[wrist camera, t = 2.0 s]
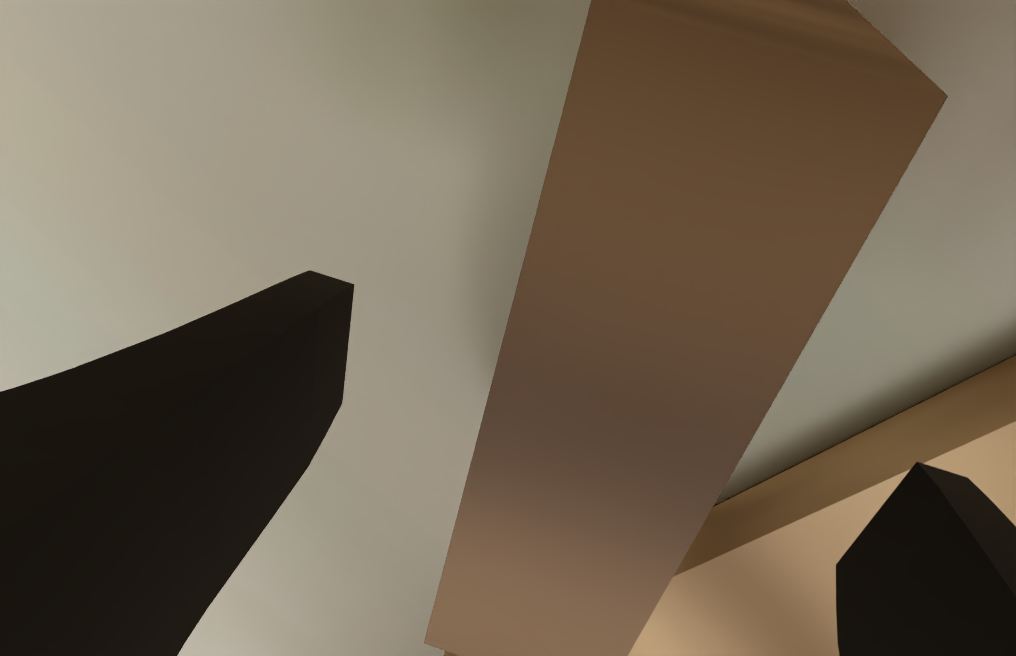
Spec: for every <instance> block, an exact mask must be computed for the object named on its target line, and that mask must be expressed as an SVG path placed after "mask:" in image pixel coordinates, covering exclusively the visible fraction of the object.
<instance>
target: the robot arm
mask: <svg viewBox="0 0 1016 656" xmlns="http://www.w3.org/2000/svg"><path fill="white" fill-rule="evenodd" d="M353 292H354V284H351V283H348V282H345V281H342V280H339V279H336V278H332V277H329V276H326V275H323V274H320V273H316V272H313V271H310V270H309V271H307V272H304V273H302V274H299V275H297V276H294V277H292V278H289V279H287V280H285V281H283V282H280V283H278V284H276V285H273V286H271V287H269V288H267V289H264V290H262V291H260V292H258V293H256V294H253V295H251V296H249V297H247V298H244V299H242V300H240V301H238V302H235V303H233V304H231V305H229V306H226V307H224V308H222V309H220V310H217V311H215V312H213V313H210V314H208V315H206V316H203V317H201V318H199V319H196V320H194V321H192V322H189V323H187V324H185V325H182V326H180V327H178V328H176V329H173V330H171V331H168V332H166V333H164V334H161V335H159V336H156V337H153V338H151V339H148V340H146V341H143V342H140V343H138V344H135V345H132V346H130V347H127V348H125V349H122V350H119V351H117V352H114V353H112V354H109V355H106V356H104V357H101V358H98V359H96V360H93V361H91V362H88V363H85V364H83V365H80V366H77V367H75V368H72V369H69V370H66V371H63V372H61V373H58V374H55V375H52V376H49V377H46V378H43V379H40V380H37V381H34V382H31V383H28V384H25V385H21V386H18V387H15V388H12V389H9V390H5V391H2V392H0V656H177V655H178V653H179V652H180V650H181V648H182V647H183V645H184V643H185V642H186V640H187V639H188V637H189V636H190V634H191V633H192V631H193V629H194V628H195V626H196V625H197V623H198V622H199V620H200V619H201V617H202V616H203V614H204V613H205V611H206V610H207V608H208V607H209V605H210V604H211V603H212V601H213V600H214V598H215V597H216V596H217V594H218V593H219V591H220V590H221V589H222V587H223V586H224V584H225V583H226V582H227V580H228V579H229V577H230V576H231V575H232V573H233V572H234V570H235V569H236V568H237V566H238V565H239V563H240V562H241V561H242V559H243V558H244V556H245V555H246V554H247V552H248V551H249V549H250V548H251V547H252V545H253V544H254V542H255V541H256V540H257V538H258V537H259V536H260V534H261V533H262V531H263V530H264V529H265V527H266V526H267V524H268V523H269V522H270V520H271V519H272V517H273V516H274V515H275V513H276V512H277V510H278V509H279V507H280V506H281V505H282V503H283V502H284V500H285V499H286V498H287V496H288V495H289V493H290V492H291V490H292V489H293V488H294V486H295V485H296V483H297V482H298V481H299V479H300V478H301V476H302V475H303V473H304V472H305V470H306V469H307V468H308V466H309V464H310V463H311V461H312V459H313V457H314V455H315V453H316V452H317V450H318V448H319V446H320V444H321V443H322V441H323V439H324V437H325V435H326V433H327V431H328V429H329V427H330V426H331V424H332V422H333V420H334V418H335V416H336V414H337V412H338V410H339V408H340V406H341V404H342V400H343V390H344V381H345V371H346V361H347V351H348V341H349V331H350V321H351V311H352V301H353ZM836 617H837V640H838V649H839V656H1016V526H1015V525H1014V524H1013V523H1012V522H1011V521H1010V520H1009V519H1008V518H1007V516H1006V515H1005V514H1004V513H1003V512H1002V511H1001V510H1000V509H999V508H998V507H997V506H996V505H995V504H994V503H993V502H992V501H991V500H990V499H989V498H988V497H987V496H986V495H985V494H984V493H983V492H982V491H981V490H980V489H979V488H978V487H977V486H976V485H975V484H974V483H973V482H972V481H971V480H970V479H969V478H968V477H964V476H961V475H958V474H955V473H952V472H949V471H945V470H942V469H939V468H936V467H933V466H930V465H926V464H923V463H920V462H916V463H915V464H914V466H913V467H912V468H911V469H910V471H909V472H908V473H907V475H906V476H905V477H904V478H903V480H902V481H901V482H900V484H899V485H898V486H897V487H896V489H895V490H894V491H893V492H892V494H891V495H890V496H889V498H888V499H887V500H886V501H885V503H884V504H883V505H882V506H881V508H880V509H879V510H878V512H877V513H876V514H875V515H874V517H873V518H872V519H871V520H870V522H869V523H868V524H867V526H866V527H865V528H864V529H863V531H862V532H861V533H860V535H859V536H858V537H857V538H856V540H855V541H854V542H853V543H852V545H851V546H850V547H849V549H848V550H847V551H846V552H845V554H844V555H843V556H842V557H841V559H840V560H839V561H838V563H837V564H836Z"/></svg>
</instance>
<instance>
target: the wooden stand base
mask: <svg viewBox="0 0 1016 656" xmlns="http://www.w3.org/2000/svg"><path fill="white" fill-rule="evenodd" d="M916 462H920V463H923V464H926V465H930V466H933V467H936V468H939V469H942V470H945V471H949V472H952V473H955V474H958V475H961V476H964V477H968V478H969V479H970V480H971V481H972V482H973V483H974V484H975V485H976V486H977V487H978V488H979V489H980V490H981V491H982V492H983V493H984V494H985V495H986V496H987V497H988V498H989V499H990V500H991V501H992V502H993V503H994V504H995V505H996V506H997V507H998V508H999V509H1000V510H1001V511H1002V512H1003V513H1004V514H1005V515H1006V516H1007V518H1008V519H1009V520H1010V521H1011V522H1012V523H1013V524H1014V525H1015V526H1016V355H1015V356H1013V357H1011V358H1009V359H1007V360H1005V361H1003V362H1001V363H999V364H997V365H995V366H993V367H991V368H989V369H987V370H985V371H983V372H981V373H979V374H977V375H975V376H973V377H971V378H969V379H967V380H965V381H963V382H961V383H959V384H957V385H955V386H953V387H951V388H949V389H947V390H945V391H943V392H941V393H939V394H937V395H935V396H933V397H931V398H929V399H927V400H925V401H923V402H921V403H919V404H917V405H915V406H913V407H911V408H909V409H907V410H905V411H903V412H901V413H899V414H897V415H895V416H893V417H891V418H890V419H888V420H886V421H884V422H882V423H880V424H878V425H876V426H874V427H872V428H870V429H868V430H866V431H864V432H862V433H860V434H858V435H856V436H854V437H852V438H850V439H848V440H846V441H844V442H842V443H840V444H838V445H836V446H834V447H832V448H830V449H828V450H826V451H824V452H822V453H820V454H818V455H816V456H814V457H812V458H810V459H808V460H806V461H804V462H802V463H800V464H798V465H796V466H794V467H792V468H790V469H788V470H786V471H784V472H782V473H780V474H778V475H776V476H774V477H772V478H770V479H768V480H766V481H764V482H762V483H760V484H758V485H756V486H754V487H752V488H750V489H748V490H746V491H744V492H742V493H740V494H738V495H736V496H734V497H732V498H730V499H728V500H726V501H724V502H722V503H720V504H718V505H716V506H714V507H713V508H712V509H711V511H710V513H709V515H708V516H707V518H706V520H705V522H704V523H703V525H702V527H701V529H700V530H699V532H698V534H697V536H696V537H695V539H694V541H693V543H692V544H691V546H690V548H689V550H688V551H687V553H686V555H685V557H684V558H683V560H682V562H681V564H680V565H679V567H678V569H677V571H676V572H675V574H674V576H673V578H672V579H671V581H670V583H669V585H668V586H667V588H666V590H665V592H664V593H663V595H662V597H661V599H660V600H659V602H658V604H657V606H656V607H655V609H654V611H653V613H652V614H651V616H650V618H649V620H648V621H647V623H646V625H645V627H644V628H643V630H642V632H641V633H640V635H639V637H638V639H637V640H636V642H635V644H634V646H633V647H632V649H631V651H630V653H629V654H628V656H839V649H838V640H837V617H836V564H837V563H838V561H839V560H840V559H841V557H842V556H843V555H844V554H845V552H846V551H847V550H848V549H849V547H850V546H851V545H852V543H853V542H854V541H855V540H856V538H857V537H858V536H859V535H860V533H861V532H862V531H863V529H864V528H865V527H866V526H867V524H868V523H869V522H870V520H871V519H872V518H873V517H874V515H875V514H876V513H877V512H878V510H879V509H880V508H881V506H882V505H883V504H884V503H885V501H886V500H887V499H888V498H889V496H890V495H891V494H892V492H893V491H894V490H895V489H896V487H897V486H898V485H899V484H900V482H901V481H902V480H903V478H904V477H905V476H906V475H907V473H908V472H909V471H910V469H911V468H912V467H913V466H914V464H915V463H916ZM444 656H459V655H456V654H454V653H451V652H448V651H445V653H444Z"/></svg>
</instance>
